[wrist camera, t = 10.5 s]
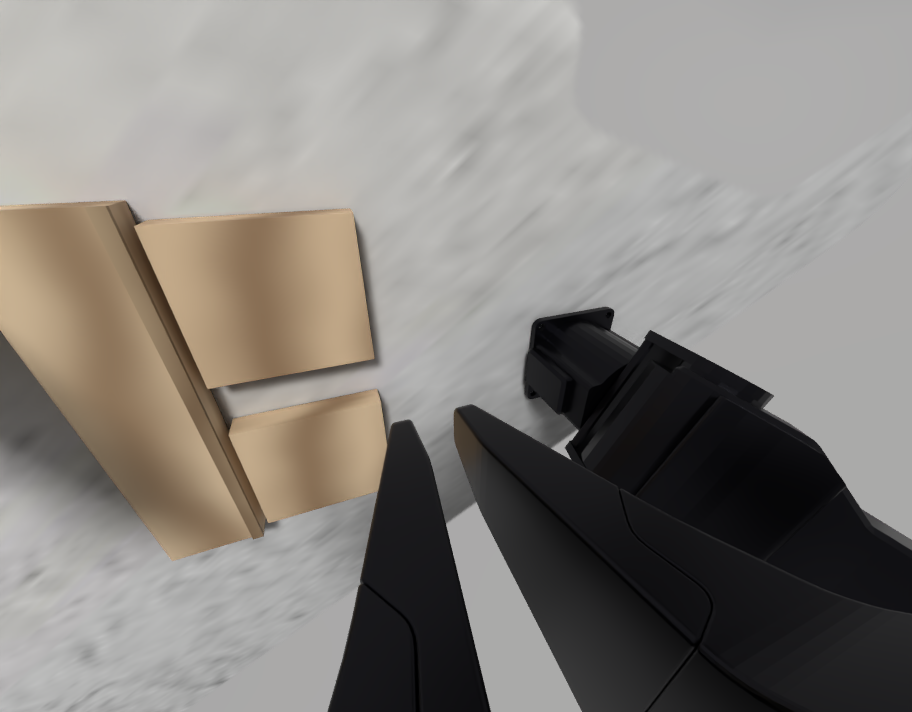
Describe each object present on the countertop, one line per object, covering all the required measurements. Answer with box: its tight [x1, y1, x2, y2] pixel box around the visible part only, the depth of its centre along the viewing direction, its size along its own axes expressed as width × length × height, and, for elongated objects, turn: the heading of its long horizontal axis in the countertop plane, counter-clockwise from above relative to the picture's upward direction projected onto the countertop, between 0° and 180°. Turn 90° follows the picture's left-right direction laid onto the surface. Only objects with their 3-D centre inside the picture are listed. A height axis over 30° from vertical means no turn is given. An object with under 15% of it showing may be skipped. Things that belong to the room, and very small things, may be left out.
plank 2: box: [229, 389, 387, 523], centre depth 22 cm, size 8×8×1 cm
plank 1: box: [134, 209, 374, 389], centre depth 17 cm, size 8×8×1 cm
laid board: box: [0, 200, 266, 561], centre depth 17 cm, size 5×20×2 cm, turn 0°
